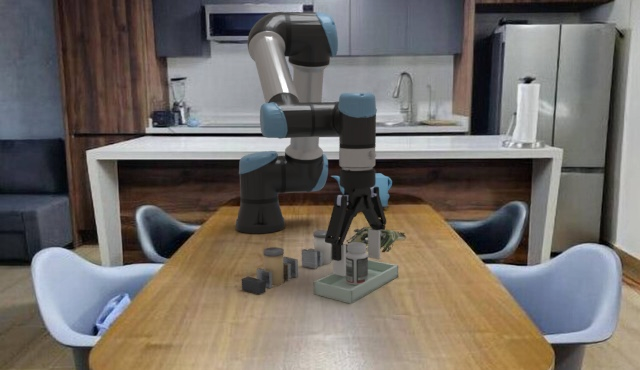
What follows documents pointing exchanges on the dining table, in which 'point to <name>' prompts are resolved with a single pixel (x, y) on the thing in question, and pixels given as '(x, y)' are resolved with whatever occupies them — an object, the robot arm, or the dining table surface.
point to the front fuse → (274, 264)
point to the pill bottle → (356, 263)
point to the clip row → (264, 277)
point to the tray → (349, 293)
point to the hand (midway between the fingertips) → (357, 266)
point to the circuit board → (385, 237)
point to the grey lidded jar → (322, 245)
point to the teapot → (380, 182)
